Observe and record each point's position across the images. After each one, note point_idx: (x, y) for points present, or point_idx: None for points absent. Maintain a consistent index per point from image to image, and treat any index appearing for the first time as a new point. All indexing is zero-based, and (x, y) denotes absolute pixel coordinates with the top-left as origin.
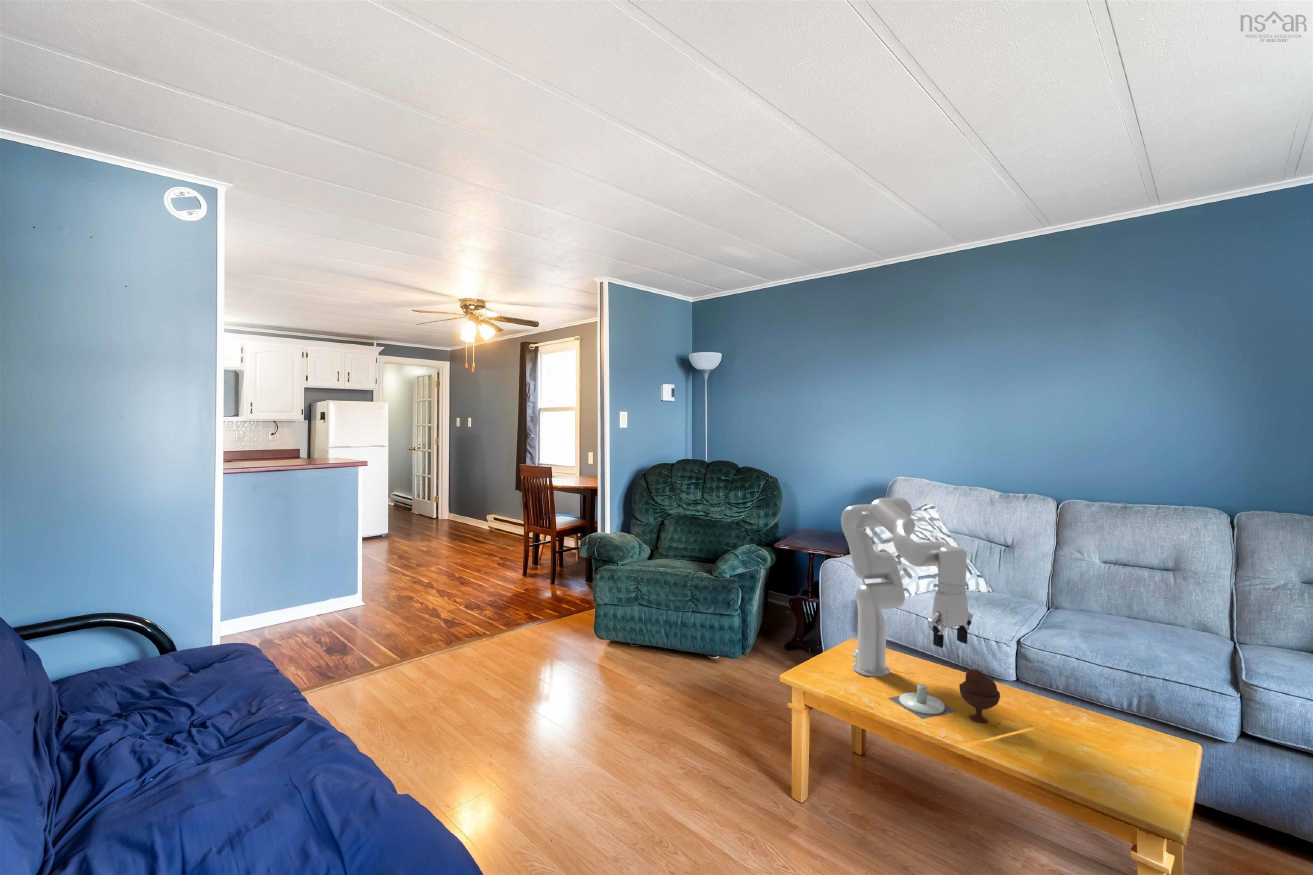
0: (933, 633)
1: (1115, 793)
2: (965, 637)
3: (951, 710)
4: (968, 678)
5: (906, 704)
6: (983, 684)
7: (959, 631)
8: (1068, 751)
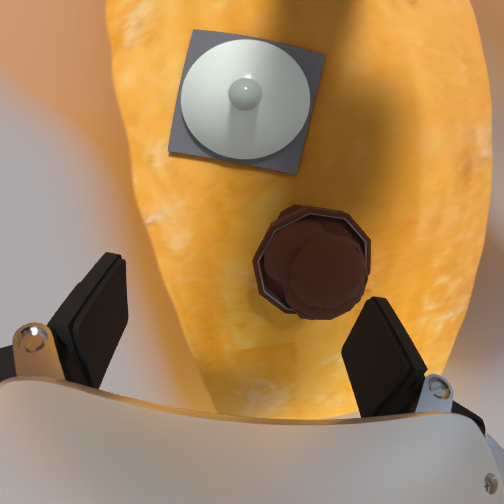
0: (63, 305)
1: (244, 404)
2: (353, 383)
3: (286, 165)
4: (295, 266)
5: (188, 86)
6: (299, 306)
7: (386, 370)
8: (313, 355)
